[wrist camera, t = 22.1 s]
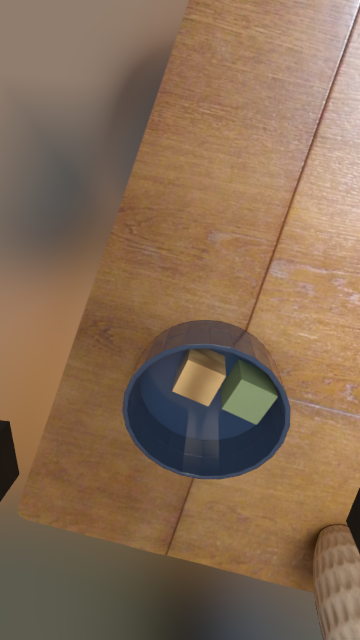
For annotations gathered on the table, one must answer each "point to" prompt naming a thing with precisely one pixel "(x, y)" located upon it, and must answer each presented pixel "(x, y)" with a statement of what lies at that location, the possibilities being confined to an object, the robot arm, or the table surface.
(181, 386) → the beech block
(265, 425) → the navy round tub
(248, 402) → the sage block
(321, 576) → the vase
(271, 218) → the table surface
